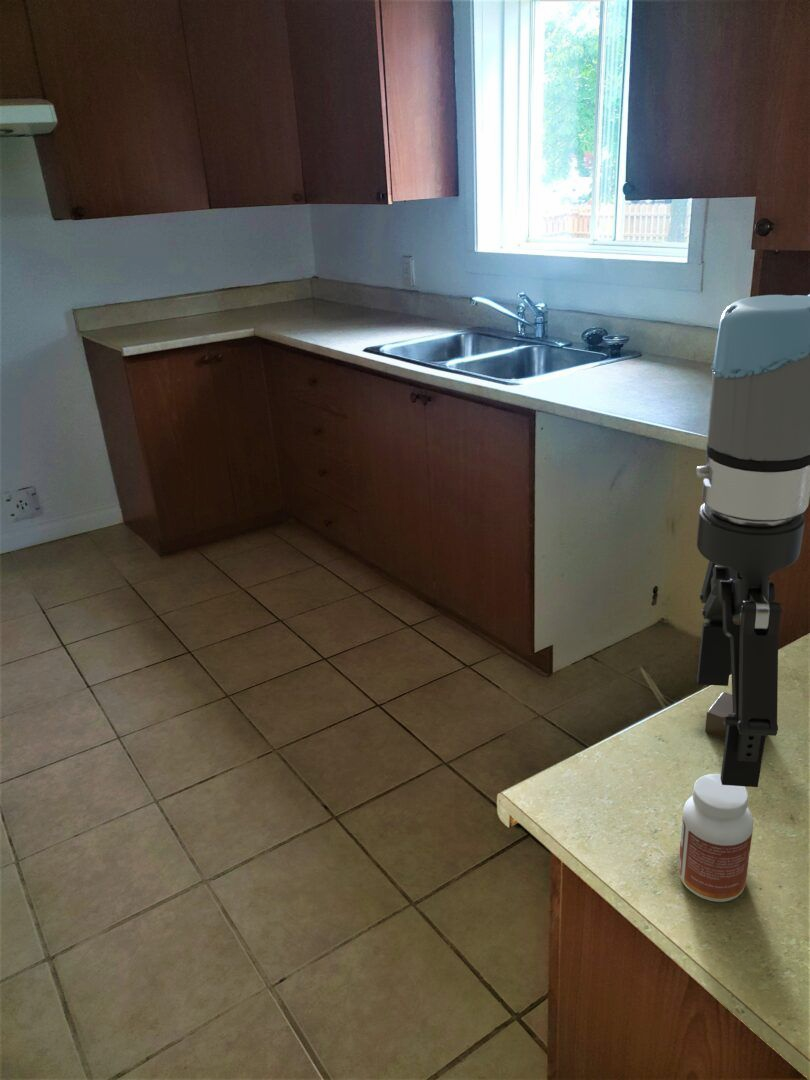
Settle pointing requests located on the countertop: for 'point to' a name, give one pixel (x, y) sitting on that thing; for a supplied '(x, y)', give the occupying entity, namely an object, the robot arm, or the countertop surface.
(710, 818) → the pill bottle
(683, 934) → the countertop surface
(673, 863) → the countertop surface
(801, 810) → the countertop surface
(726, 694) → the walnut block
